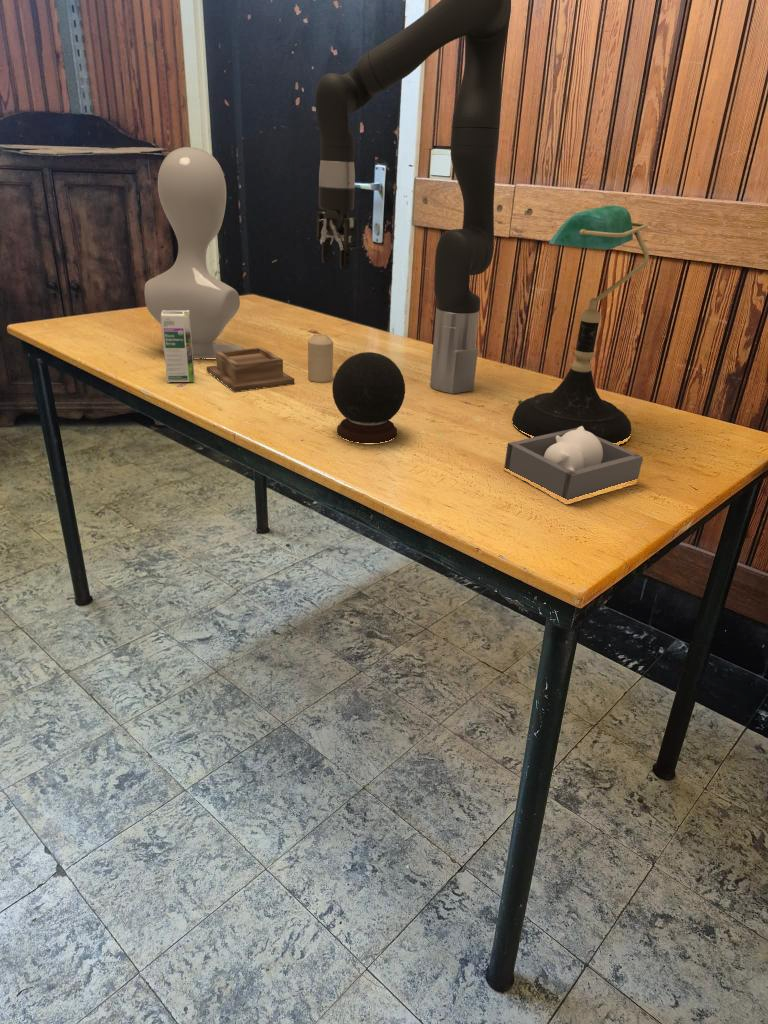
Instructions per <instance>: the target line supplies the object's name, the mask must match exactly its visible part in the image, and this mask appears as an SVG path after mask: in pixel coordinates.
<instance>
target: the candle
mask: <svg viewBox="0 0 768 1024" xmlns="http://www.w3.org/2000/svg"><path fill="white" fill-rule="evenodd" d="M333 365H334V341H333V339H331V338H330V336H329V335H328V334H322V333H318V334H313V335H312V336H311V337H310V339H308V341H307V379H308V381H311V382H314V383H328V382H331V381H333V378H334V376H333V375H334V373H333V369H334V366H333Z"/></svg>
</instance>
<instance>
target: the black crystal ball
mask: <svg viewBox="0 0 768 1024" xmlns="http://www.w3.org/2000/svg"><path fill="white" fill-rule="evenodd" d="M331 390H332V397H333V401H334V404H335V405H336V406H335V407H336V408H337V409H338V411H339V412H340V413H341V415H342V416H343V417H344V419H342V420H341V421H340V423H339V424H338V425H337V427H336V434H337V433H338V434H337V436H338V435H339V436H341V437H342V438H344V439H347V440H349V441H353V442H359V443H380V442H385V441H389V440H391V439H393V438H395V437H396V436H398V429H397V427H396V426H395V424H394V423H393V422H392V421H391V420H392V418H393V417H394V416H395V415H396V414H397V413H399V411H400V409H401V408H402V405H403V403H404V400H405V396H406V395H405V394H406V383H405V379H404V375H403V373H402V371H401V370H400V368H399V367H398V365H397V363H395V362H394V361H393V360H392V359H391V358H389V357H388V356H386V355H383V354H381V353H376V352H372V351H371V352H370V351H369V352H367V351H366V352H365V351H364V352H359V353H357V354H355V355H351V356H350V357H348V358H347V359H345V360H344V361H343V363H341V365H340V366H339V367H338V368H337V371H336V373H335V374H334V376H333V379H332V388H331ZM339 436H338V437H339ZM342 438H341V439H342ZM396 438H397V437H396ZM396 438H395V439H396Z"/></svg>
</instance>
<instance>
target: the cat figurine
mask: <svg viewBox="0 0 768 1024" xmlns="http://www.w3.org/2000/svg"><path fill="white" fill-rule="evenodd" d="M556 442H557V443H555V444H553V445H551V446H550V447H549V448H548V449H547V450H546V452H545V454H544V458H546V459H548V460H550V461H552V462H554V463H556V464H558V465H560V466H562V467H564V468H566V469H568V470H570V471H575V470H579V469H582V468H586V467H590V466H594V465H598V464H601V461H602V458H603V449H602V445H601V443H600V441H599V440H598V438H597V437H596V436H595V435H593V434H592V433H590V432H588V431H585V429H584V428H583V426H580V427H578V428H577V429H576V430H572V431H569V432H567V433H565V434H564V435H563V436H562V437H560V436H556Z"/></svg>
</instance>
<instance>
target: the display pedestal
mask: <svg viewBox="0 0 768 1024" xmlns="http://www.w3.org/2000/svg"><path fill="white" fill-rule="evenodd" d="M215 361H216V365H209V366H206V372H207V371H208V372H209V373H211V374H212V375H213V376H215V377H216V378H218V379H219V380H220V381H222V382H223V383H224V384H225V385H227V386H228V387H229V388H231V389H232V390H233V391H240V392H242V391H241V390H247V391H250V390H249V389H255V390H257V389H256V388H262V389H264V388H263V387H269V388H272V387H271V386H277V387H280V386H279V385H284V386H288V385H287V384H291V385H295V378H294V377H292V376H290V375H289V374H287V373H286V372H284V359H283V358H282V357H279V356H278V355H276V354H275V353H272V352H271V351H269V350H267V349H265V348H264V347H262V346H261V347H252V348H242V349H241V350H232V351H222V352H216V359H215ZM208 372H207V373H208ZM209 373H208V374H209ZM212 375H211V376H212ZM213 376H212V377H213ZM216 378H215V379H216ZM220 381H219V382H220ZM224 384H223V385H224ZM225 385H224V386H225ZM227 386H226V387H227ZM228 387H227V388H228ZM229 388H228V389H229ZM231 389H230V390H231ZM232 390H231V391H232ZM233 391H232V392H233Z"/></svg>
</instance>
